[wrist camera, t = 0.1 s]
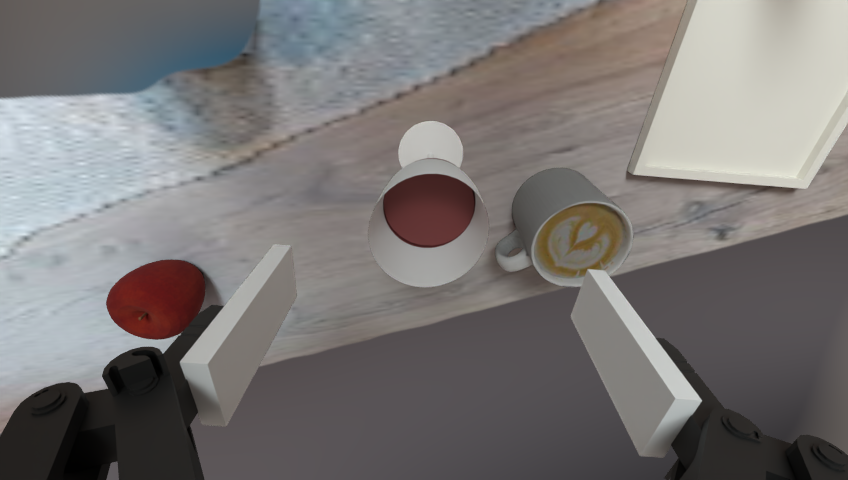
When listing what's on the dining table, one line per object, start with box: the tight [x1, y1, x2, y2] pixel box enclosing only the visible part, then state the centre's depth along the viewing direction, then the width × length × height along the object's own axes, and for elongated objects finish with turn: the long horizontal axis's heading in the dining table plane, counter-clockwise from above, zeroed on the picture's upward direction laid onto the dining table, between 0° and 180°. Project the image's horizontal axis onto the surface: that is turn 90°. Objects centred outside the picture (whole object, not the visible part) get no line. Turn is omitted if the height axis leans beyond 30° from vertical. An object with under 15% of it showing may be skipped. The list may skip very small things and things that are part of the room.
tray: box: [627, 0, 848, 189], centre depth 37 cm, size 20×20×2 cm
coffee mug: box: [495, 168, 634, 287], centre depth 40 cm, size 13×10×10 cm
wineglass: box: [368, 121, 489, 287], centre depth 33 cm, size 8×9×20 cm
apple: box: [106, 260, 205, 340], centre depth 46 cm, size 10×10×10 cm
